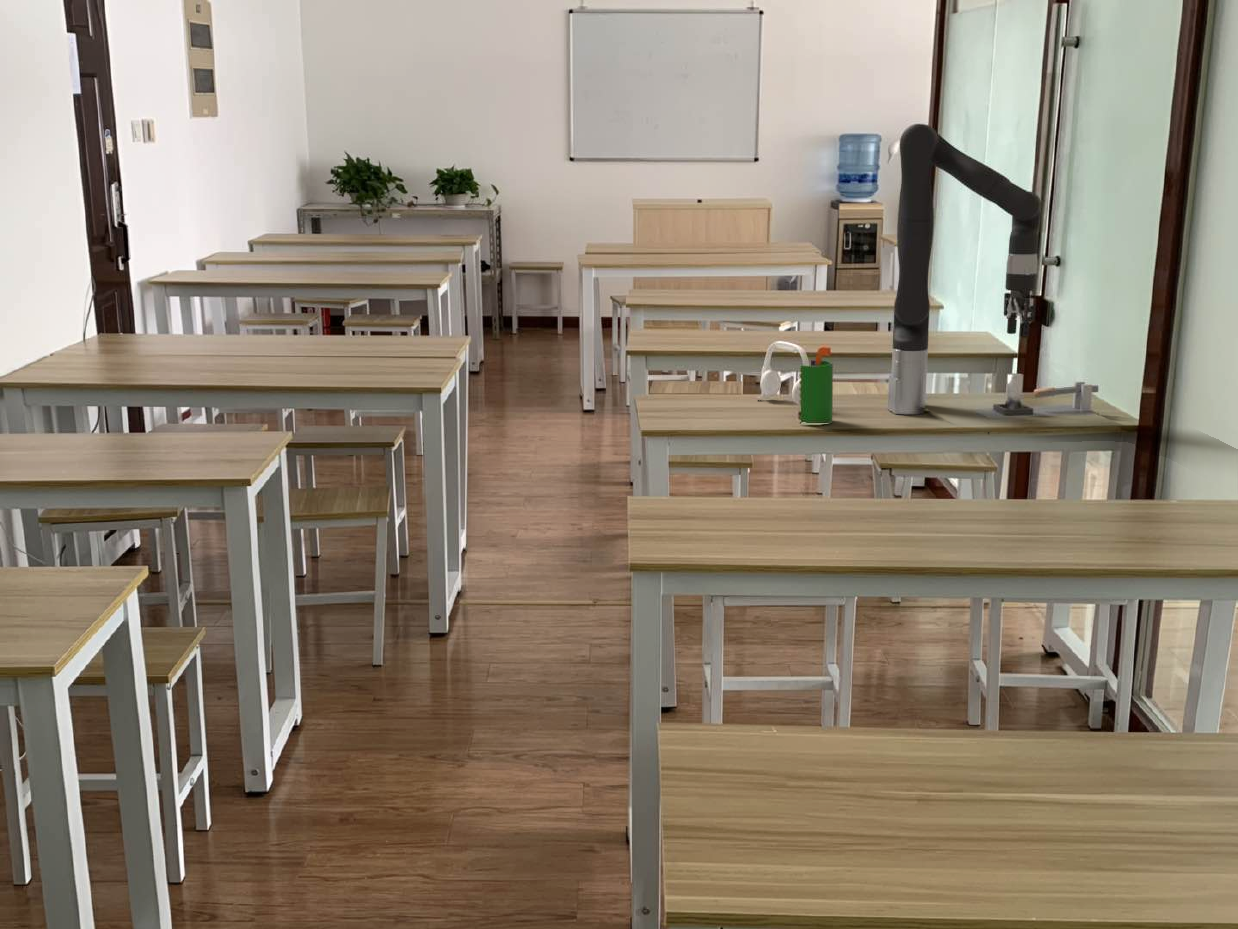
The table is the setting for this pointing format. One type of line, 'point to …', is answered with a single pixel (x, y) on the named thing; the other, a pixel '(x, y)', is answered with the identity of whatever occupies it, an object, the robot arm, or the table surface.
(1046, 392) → the lever
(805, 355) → the headset
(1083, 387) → the grey flat base
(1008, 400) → the translucent white cylinder
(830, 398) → the green cup with straw
